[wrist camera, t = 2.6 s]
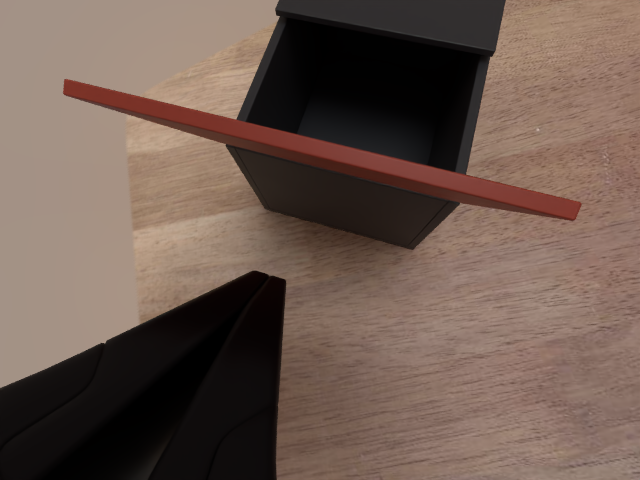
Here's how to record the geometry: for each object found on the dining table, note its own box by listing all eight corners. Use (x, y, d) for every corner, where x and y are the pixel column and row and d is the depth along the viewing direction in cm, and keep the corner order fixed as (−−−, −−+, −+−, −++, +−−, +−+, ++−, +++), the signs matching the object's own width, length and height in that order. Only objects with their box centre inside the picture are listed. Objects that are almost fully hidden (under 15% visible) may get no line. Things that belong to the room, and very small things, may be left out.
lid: (465, 195, 13) (463, 203, 13) (221, 134, 14) (220, 142, 14) (583, 203, 6) (575, 221, 6) (63, 78, 7) (62, 94, 7)
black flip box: (413, 249, 22) (467, 197, 13) (264, 209, 23) (218, 136, 14) (454, 75, 25) (519, -62, 16) (323, 49, 26) (316, -91, 18)
